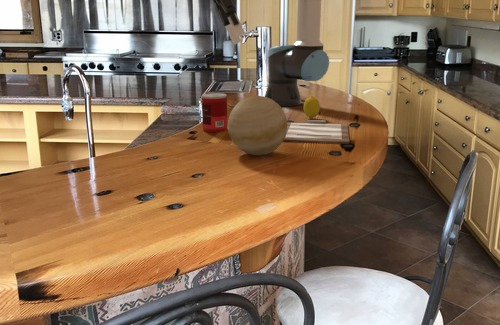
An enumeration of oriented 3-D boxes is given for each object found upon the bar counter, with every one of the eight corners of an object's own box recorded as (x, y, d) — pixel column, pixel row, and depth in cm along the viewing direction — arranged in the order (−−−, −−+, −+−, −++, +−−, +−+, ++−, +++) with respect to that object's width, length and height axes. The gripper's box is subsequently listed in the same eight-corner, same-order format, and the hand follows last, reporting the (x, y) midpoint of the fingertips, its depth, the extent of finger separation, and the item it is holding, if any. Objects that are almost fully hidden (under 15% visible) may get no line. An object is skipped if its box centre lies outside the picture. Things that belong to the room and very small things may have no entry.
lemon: (318, 120, 178) (319, 97, 176) (302, 120, 179) (303, 96, 177) (319, 117, 183) (320, 95, 181) (304, 117, 184) (304, 94, 182)
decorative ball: (298, 156, 132) (300, 97, 128) (248, 165, 124) (248, 102, 120) (265, 145, 144) (265, 90, 140) (217, 152, 136) (216, 94, 132)
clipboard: (285, 123, 173) (285, 119, 172) (347, 125, 170) (347, 121, 170) (277, 141, 148) (277, 136, 148) (349, 143, 145) (349, 138, 145)
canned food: (231, 128, 166) (230, 93, 163) (221, 133, 159) (221, 97, 156) (208, 126, 168) (208, 92, 166) (198, 131, 161) (197, 96, 158)
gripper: (198, -8, 173) (226, 50, 175) (198, -32, 149) (231, 37, 151) (218, -18, 174) (246, 41, 176) (222, -43, 149) (254, 26, 151)
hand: (239, 39), depth 163 cm, fingers open, 13 cm apart
